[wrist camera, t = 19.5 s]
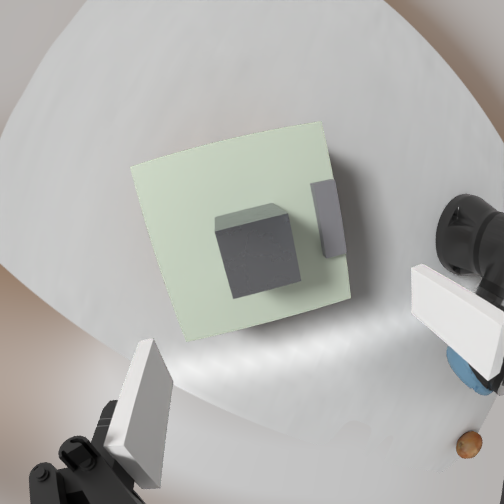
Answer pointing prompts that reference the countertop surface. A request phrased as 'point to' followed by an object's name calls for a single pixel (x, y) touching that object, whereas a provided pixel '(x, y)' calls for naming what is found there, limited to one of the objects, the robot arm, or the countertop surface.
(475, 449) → the onion
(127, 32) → the countertop surface
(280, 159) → the lid
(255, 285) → the block
